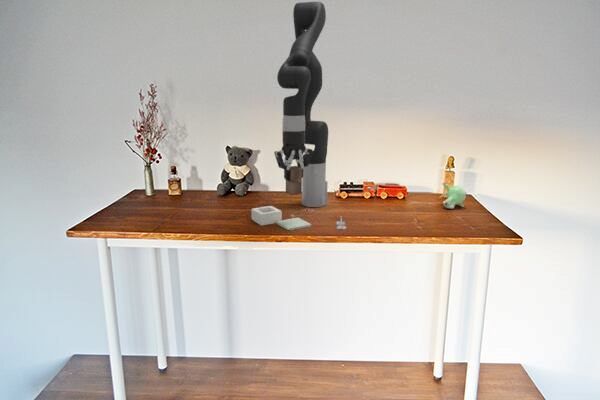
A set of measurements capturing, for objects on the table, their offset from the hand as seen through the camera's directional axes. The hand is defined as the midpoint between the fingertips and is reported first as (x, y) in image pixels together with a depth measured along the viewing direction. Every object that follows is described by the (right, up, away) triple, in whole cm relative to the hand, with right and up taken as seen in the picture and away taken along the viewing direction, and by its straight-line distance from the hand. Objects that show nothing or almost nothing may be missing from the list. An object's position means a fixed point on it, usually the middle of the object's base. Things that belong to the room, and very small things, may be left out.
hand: (293, 179), depth 161 cm
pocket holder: (-10, -14, +9) cm, 19 cm away
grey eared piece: (+17, -16, +7) cm, 24 cm away
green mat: (0, -16, +4) cm, 16 cm away
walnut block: (0, -5, +1) cm, 5 cm away
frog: (+62, -10, +27) cm, 69 cm away
